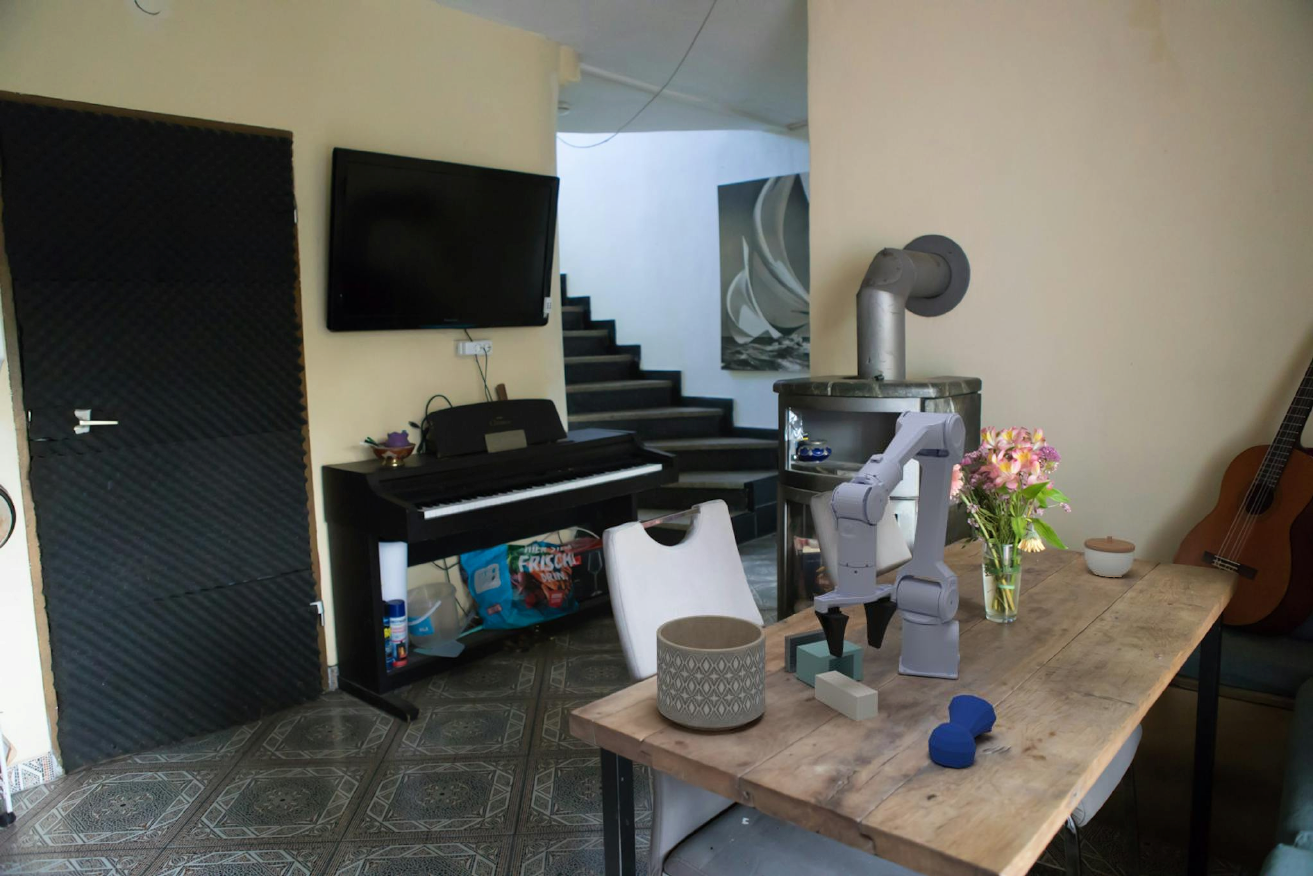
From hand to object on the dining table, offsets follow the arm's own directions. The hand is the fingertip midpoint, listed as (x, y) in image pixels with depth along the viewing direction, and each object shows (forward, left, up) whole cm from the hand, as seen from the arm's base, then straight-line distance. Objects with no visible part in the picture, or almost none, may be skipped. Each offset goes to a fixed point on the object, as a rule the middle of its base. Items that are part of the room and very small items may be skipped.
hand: (855, 651), depth 134 cm
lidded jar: (-52, -95, -10) cm, 109 cm away
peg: (+1, -1, -10) cm, 10 cm away
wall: (+9, -16, -10) cm, 21 cm away
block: (+5, -12, -10) cm, 16 cm away
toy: (-15, +8, -10) cm, 20 cm away
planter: (+21, +6, -10) cm, 24 cm away
